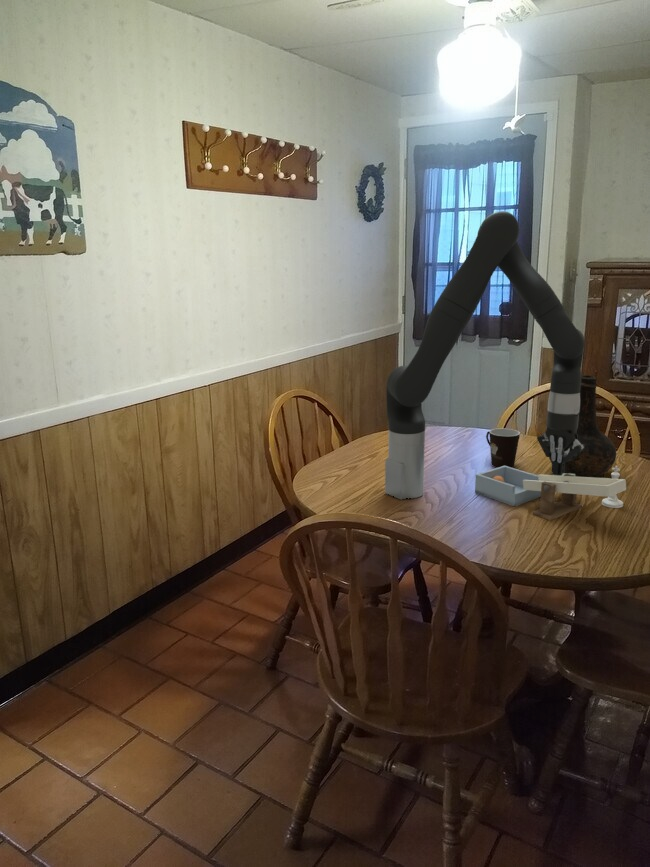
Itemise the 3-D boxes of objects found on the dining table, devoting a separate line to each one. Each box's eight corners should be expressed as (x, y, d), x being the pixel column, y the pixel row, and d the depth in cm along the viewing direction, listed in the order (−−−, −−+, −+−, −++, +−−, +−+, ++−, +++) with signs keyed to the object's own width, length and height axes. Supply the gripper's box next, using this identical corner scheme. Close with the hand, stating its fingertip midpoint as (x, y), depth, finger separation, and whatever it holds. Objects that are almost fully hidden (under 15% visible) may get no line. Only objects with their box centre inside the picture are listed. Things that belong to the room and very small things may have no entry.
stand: (582, 507, 163) (585, 476, 161) (550, 520, 155) (552, 488, 153) (564, 501, 167) (566, 471, 164) (532, 514, 159) (534, 482, 157)
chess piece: (605, 499, 168) (609, 461, 165) (625, 503, 165) (630, 465, 162) (598, 505, 164) (602, 466, 161) (619, 509, 161) (623, 470, 158)
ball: (498, 478, 172) (488, 476, 174) (499, 490, 172) (489, 488, 175) (506, 475, 174) (496, 473, 176) (507, 487, 174) (497, 485, 177)
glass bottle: (600, 464, 195) (609, 369, 187) (624, 485, 177) (636, 382, 170) (538, 464, 195) (545, 370, 188) (557, 485, 178) (565, 382, 171)
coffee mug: (521, 469, 191) (523, 436, 188) (491, 469, 191) (492, 436, 188) (511, 457, 202) (513, 425, 199) (482, 457, 202) (484, 425, 200)
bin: (514, 506, 164) (515, 487, 163) (474, 492, 174) (475, 474, 172) (543, 495, 171) (544, 477, 169) (503, 482, 180) (504, 465, 179)
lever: (647, 481, 154) (646, 471, 154) (609, 496, 145) (608, 486, 145) (561, 476, 173) (560, 467, 173) (523, 489, 164) (522, 480, 163)
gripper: (531, 406, 168) (526, 471, 173) (578, 416, 158) (572, 485, 162) (549, 402, 172) (544, 465, 177) (596, 411, 162) (589, 478, 167)
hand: (557, 475), depth 170 cm, fingers closed
